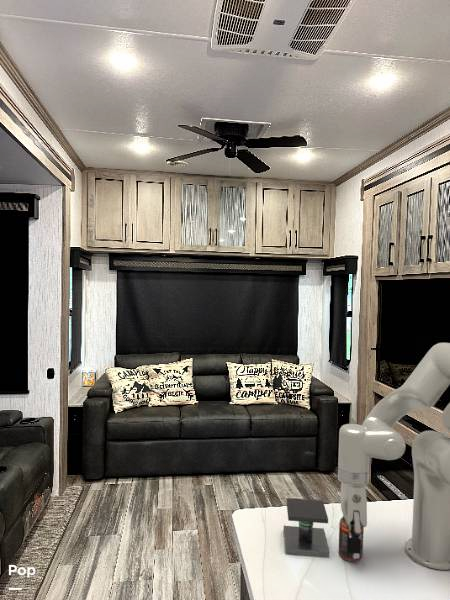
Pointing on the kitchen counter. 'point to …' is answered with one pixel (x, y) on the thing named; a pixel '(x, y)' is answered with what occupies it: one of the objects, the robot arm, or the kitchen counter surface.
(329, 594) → the kitchen counter surface
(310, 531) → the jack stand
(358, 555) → the supplement bottle
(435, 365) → the robot arm
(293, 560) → the kitchen counter surface
